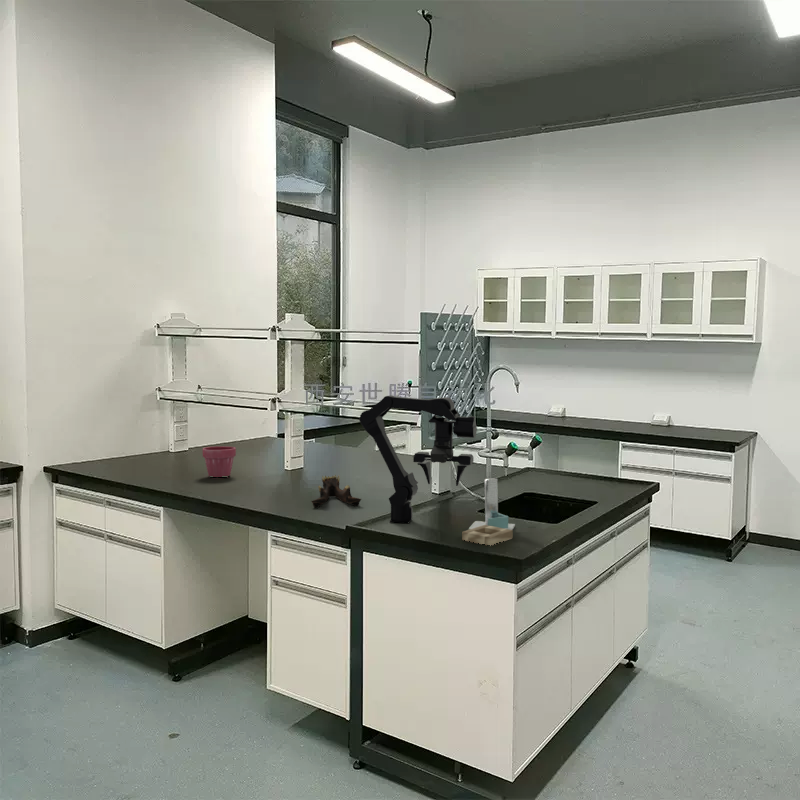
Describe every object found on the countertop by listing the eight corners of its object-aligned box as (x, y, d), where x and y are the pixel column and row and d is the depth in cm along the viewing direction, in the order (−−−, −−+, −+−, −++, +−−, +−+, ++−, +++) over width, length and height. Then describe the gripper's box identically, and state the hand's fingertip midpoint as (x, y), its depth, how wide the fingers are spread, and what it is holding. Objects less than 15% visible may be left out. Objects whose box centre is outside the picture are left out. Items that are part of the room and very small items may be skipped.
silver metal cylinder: (488, 527, 230) (487, 480, 229) (483, 525, 234) (482, 478, 233) (500, 526, 231) (499, 479, 231) (494, 524, 235) (494, 477, 234)
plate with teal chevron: (468, 530, 229) (468, 517, 229) (475, 522, 240) (475, 510, 239) (510, 533, 225) (510, 520, 225) (514, 525, 236) (515, 513, 236)
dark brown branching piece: (363, 502, 284) (368, 477, 283) (356, 521, 260) (362, 494, 259) (319, 492, 285) (324, 468, 283) (308, 510, 260) (314, 484, 259)
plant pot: (215, 473, 331) (215, 445, 330) (242, 475, 326) (242, 446, 325) (196, 478, 318) (195, 448, 317) (223, 480, 313) (223, 450, 312)
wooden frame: (462, 540, 218) (462, 531, 217) (484, 532, 227) (485, 524, 227) (490, 546, 211) (490, 537, 211) (512, 538, 220) (512, 530, 220)
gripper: (408, 438, 230) (408, 487, 231) (467, 440, 225) (466, 491, 226) (418, 434, 241) (417, 481, 242) (474, 436, 235) (473, 484, 236)
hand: (443, 484), depth 236 cm, fingers open, 9 cm apart
